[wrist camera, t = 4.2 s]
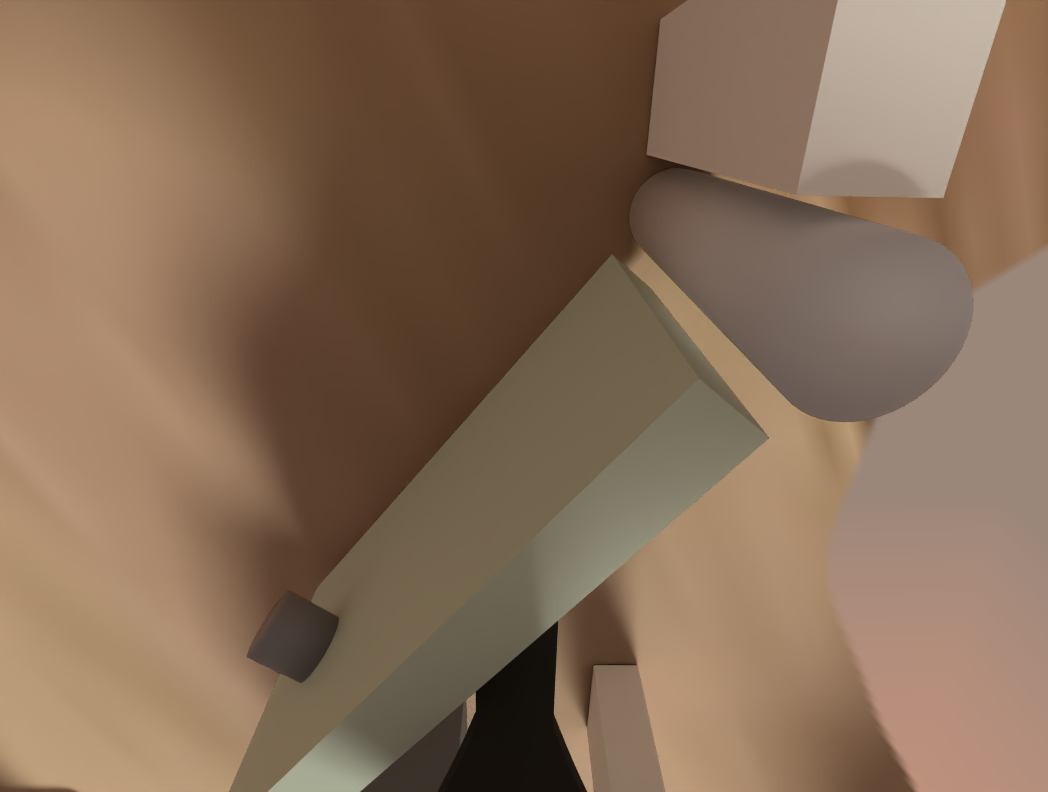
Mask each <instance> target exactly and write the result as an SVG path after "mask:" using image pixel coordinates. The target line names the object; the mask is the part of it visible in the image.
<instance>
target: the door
mask: <svg viewBox="0 0 1048 792" xmlns="http://www.w3.org/2000/svg"><path fill="white" fill-rule="evenodd" d="M767 439H769V437H768V436H767V435H766V433H765V432H764V431H763V429H762V428H761V427H760V426H759V424H758V423H757V422H756V421H755V419H754V418H753V417H752V416H751V414H750V413H749V412H748V410H747V409H746V408H745V407H744V405H743V404H742V403H741V402H740V400H739V399H738V398H737V397H736V395H735V394H734V393H733V391H732V390H731V389H730V388H729V386H728V385H727V384H726V383H725V381H724V380H723V379H722V378H721V376H720V375H719V374H718V372H717V371H716V370H715V369H714V367H713V366H712V365H711V364H710V362H709V361H708V360H707V359H706V357H705V356H704V355H703V353H702V352H701V351H700V350H699V348H698V347H697V346H696V345H695V343H694V342H693V341H692V340H691V338H690V337H689V336H688V335H687V333H686V332H685V331H684V329H683V328H682V327H681V326H680V324H679V323H678V322H677V321H676V319H675V318H674V317H673V316H672V314H671V313H670V312H669V310H668V309H667V308H666V307H665V305H664V304H663V303H662V302H661V300H660V299H659V298H658V297H657V295H656V294H655V293H654V291H653V290H652V289H651V288H650V287H649V286H648V285H646V284H645V283H644V282H643V281H642V280H641V279H640V278H639V277H637V276H636V275H635V274H634V273H633V272H632V271H631V270H629V269H628V268H627V267H626V266H625V265H624V264H623V263H622V262H620V261H619V260H618V259H617V258H616V257H615V256H614V255H611V256H610V257H609V258H608V259H607V260H606V261H605V263H604V264H603V265H602V266H601V267H600V268H599V269H598V271H597V272H596V273H595V274H594V275H593V276H592V277H591V278H590V280H589V281H588V282H587V283H586V284H585V285H584V286H583V287H582V289H581V290H580V291H579V292H578V293H577V294H576V295H575V297H574V298H573V299H572V300H571V301H570V302H569V303H568V304H567V306H566V307H565V308H564V309H563V310H562V311H561V312H560V313H559V315H558V316H557V317H556V318H555V319H554V320H553V321H552V323H551V324H550V325H549V326H548V327H547V328H546V329H545V330H544V332H543V333H542V334H541V335H540V336H539V337H538V338H537V339H536V341H535V342H534V343H533V344H532V345H531V346H530V347H529V349H528V350H527V351H526V352H525V353H524V354H523V355H522V356H521V358H520V359H519V360H518V361H517V362H516V363H515V364H514V366H513V367H512V368H511V369H510V370H509V371H508V372H507V373H506V375H505V376H504V377H503V378H502V379H501V380H500V381H499V382H498V384H497V385H496V386H495V387H494V388H493V389H492V390H491V392H490V393H489V394H488V395H487V396H486V397H485V398H484V399H483V401H482V402H481V403H480V404H479V405H478V406H477V407H476V408H475V410H474V411H473V412H472V413H471V414H470V415H469V416H468V418H467V419H466V420H465V421H464V422H463V423H462V424H461V425H460V427H459V428H458V429H457V430H456V431H455V432H454V433H453V434H452V436H451V437H450V438H449V439H448V440H447V441H446V442H445V444H444V445H443V446H442V447H441V448H440V449H439V450H438V451H437V453H436V454H435V455H434V456H433V457H432V458H431V459H430V461H429V462H428V463H427V464H426V465H425V466H424V467H423V468H422V470H421V471H420V472H419V473H418V474H417V475H416V476H415V477H414V479H413V480H412V481H411V482H410V483H409V484H408V485H407V487H406V488H405V489H404V490H403V491H402V492H401V493H400V494H399V496H398V497H397V498H396V499H395V500H394V501H393V502H392V503H391V505H390V506H389V507H388V508H387V509H386V510H385V511H384V513H383V514H382V515H381V516H380V517H379V518H378V519H377V520H376V522H375V523H374V524H373V525H372V526H371V527H370V528H369V529H368V531H367V532H366V533H365V534H364V535H363V536H362V537H361V539H360V540H359V541H358V542H357V543H356V544H355V545H354V546H353V548H352V549H351V550H350V551H349V552H348V553H347V554H346V556H345V557H344V558H343V559H342V560H341V561H340V562H339V563H338V565H337V566H336V567H335V568H334V569H333V570H332V571H331V572H330V574H329V575H328V576H327V577H326V578H325V579H324V580H323V582H322V583H321V584H320V585H319V586H318V587H317V589H316V591H315V593H314V596H313V598H312V600H311V602H310V601H308V600H306V599H304V598H303V597H301V596H299V595H297V594H295V593H293V592H291V591H288V592H286V593H285V594H284V595H283V596H282V598H281V599H280V600H279V601H278V603H277V604H276V605H275V607H274V608H273V609H272V611H271V612H270V614H269V615H268V617H267V618H266V620H265V621H264V623H263V624H262V626H261V628H260V629H259V631H258V633H257V635H256V636H255V638H254V640H253V642H252V644H251V646H250V648H249V651H248V654H247V657H248V658H250V659H252V660H254V661H256V662H258V663H260V664H262V665H264V666H266V667H268V668H270V669H272V670H274V671H276V672H279V673H280V675H279V677H278V679H277V682H276V684H275V686H274V689H273V691H272V693H271V696H270V698H269V700H268V702H267V705H266V707H265V709H264V712H263V714H262V716H261V719H260V721H259V723H258V726H257V728H256V730H255V733H254V735H253V737H252V740H251V742H250V744H249V747H248V749H247V751H246V754H245V756H244V758H243V761H242V763H241V765H240V767H239V770H238V772H237V774H236V777H235V779H234V781H233V784H232V786H231V788H230V791H229V792H360V791H361V790H363V789H364V788H365V787H366V786H367V785H368V784H369V783H371V782H372V781H373V780H374V779H375V778H376V777H378V776H379V775H380V774H381V773H382V772H383V771H385V770H386V769H387V768H388V767H389V766H390V765H391V764H393V763H394V762H395V761H396V760H397V759H398V758H400V757H401V756H402V755H403V754H404V753H405V752H406V751H408V750H409V749H410V748H411V747H412V746H413V745H415V744H416V743H417V742H418V741H419V740H420V739H422V738H423V737H424V736H425V735H426V734H427V733H428V732H430V731H431V730H432V729H433V728H434V727H435V726H437V725H438V724H439V723H440V722H441V721H442V720H444V719H445V718H446V717H447V716H448V715H449V714H450V713H452V712H453V711H454V710H455V709H456V708H457V707H459V706H460V705H461V704H462V703H463V702H464V701H465V700H467V699H468V698H469V697H470V696H471V695H472V694H474V693H475V692H476V691H477V690H478V689H479V688H481V687H482V686H483V685H484V684H485V683H486V682H487V681H489V680H490V679H491V678H492V677H493V676H494V675H496V674H497V673H498V672H499V671H500V670H501V669H502V668H504V667H505V666H506V665H507V664H508V663H509V662H511V661H512V660H513V659H514V658H515V657H516V656H518V655H519V654H520V653H521V652H522V651H523V650H524V649H526V648H527V647H528V646H529V645H530V644H531V643H533V642H534V641H535V640H536V639H537V638H538V637H540V636H541V635H542V634H543V633H544V632H545V631H546V630H548V629H549V628H550V627H551V626H552V625H553V624H555V623H556V622H557V621H558V620H559V619H560V618H561V617H563V616H564V615H565V614H566V613H567V612H568V611H570V610H571V609H572V608H573V607H574V606H575V605H577V604H578V603H579V602H580V601H581V600H582V599H583V598H585V597H586V596H587V595H588V594H589V593H590V592H592V591H593V590H594V589H595V588H596V587H597V586H598V585H600V584H601V583H602V582H603V581H604V580H605V579H607V578H608V577H609V576H610V575H611V574H612V573H614V572H615V571H616V570H617V569H618V568H619V567H620V566H622V565H623V564H624V563H625V562H626V561H627V560H629V559H630V558H631V557H632V556H633V555H634V554H636V553H637V552H638V551H639V550H640V549H641V548H642V547H644V546H645V545H646V544H647V543H648V542H649V541H651V540H652V539H653V538H654V537H655V536H656V535H657V534H659V533H660V532H661V531H662V530H663V529H664V528H666V527H667V526H668V525H669V524H670V523H671V522H673V521H674V520H675V519H676V518H677V517H678V516H679V515H681V514H682V513H683V512H684V511H685V510H686V509H688V508H689V507H690V506H691V505H692V504H693V503H695V502H696V501H697V500H698V499H699V498H700V497H701V496H703V495H704V494H705V493H706V492H707V491H708V490H710V489H711V488H712V487H713V486H714V485H715V484H716V483H718V482H719V481H720V480H721V479H722V478H723V477H725V476H726V475H727V474H728V473H729V472H730V471H732V470H733V469H734V468H735V467H736V466H737V465H738V464H740V463H741V462H742V461H743V460H744V459H745V458H747V457H748V456H749V455H750V454H751V453H752V452H753V451H755V450H756V449H757V448H758V447H759V446H760V445H762V444H763V443H764V442H765V441H766V440H767Z"/></svg>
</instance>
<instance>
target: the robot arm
mask: <svg viewBox="0 0 1048 792" xmlns="http://www.w3.org/2000/svg"><path fill="white" fill-rule="evenodd" d="M557 633H558V621H557V622H556V623H555V624H553V625H552V626H551V627H550V628H549V629H548V630H546V631H545V632H544V633H543V634H542V635H541V636H540V637H538V638H537V639H536V640H535V641H534V642H533V643H531V644H530V645H529V646H528V647H527V648H526V649H524V650H523V651H522V652H521V653H520V654H519V655H518V656H516V657H515V658H514V659H513V660H512V661H511V662H509V663H508V664H507V665H506V666H505V667H504V668H502V669H501V670H500V671H499V672H498V673H497V674H496V675H494V676H493V677H492V678H491V679H490V680H489V681H487V682H486V683H485V684H484V685H483V686H482V687H481V688H479V689H478V690H477V691H476V712H475V714H474V717H473V719H472V721H471V724H470V726H469V728H468V730H467V733H466V735H465V737H464V739H463V741H462V744H461V746H460V748H459V750H458V752H457V754H456V756H455V758H454V760H453V762H452V764H451V766H450V768H449V770H448V772H447V774H446V776H445V778H444V780H443V782H442V784H441V786H440V788H439V790H438V792H587V791H586V789H585V786H584V784H583V782H582V780H581V778H580V776H579V773H578V771H577V769H576V767H575V764H574V762H573V760H572V758H571V755H570V753H569V751H568V748H567V746H566V744H565V741H564V739H563V736H562V734H561V731H560V729H559V726H558V724H557V721H556V719H555V716H554V694H555V674H556V654H557Z"/></svg>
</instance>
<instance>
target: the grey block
mask: <svg viewBox="0 0 1048 792" xmlns="http://www.w3.org/2000/svg"><path fill="white" fill-rule="evenodd" d="M466 733H467V708H466V700H465V701H464V702H463V703H462V704H461V705H460V706H459V707H457V708H456V709H455V710H454V711H453V712H452V713H450V714H449V715H448V716H447V717H446V718H445V719H444V720H442V721H441V722H440V723H439V724H438V725H437V726H435V727H434V728H433V729H432V730H431V731H430V732H428V733H427V734H426V735H425V736H424V737H423V738H422V739H420V740H419V741H418V742H417V743H416V744H415V745H413V746H412V747H411V748H410V749H409V750H408V751H406V752H405V753H404V754H403V755H402V756H401V757H400V758H398V759H397V760H396V761H395V762H394V763H393V764H391V765H390V766H389V767H388V768H387V769H386V770H385V771H383V772H382V773H381V774H380V775H379V776H378V777H376V778H375V779H374V780H373V781H372V782H371V783H369V784H368V785H367V786H366V787H365V788H364V789H363V790H361V791H360V792H438V790H439V788H440V786H441V784H442V782H443V780H444V778H445V776H446V774H447V772H448V770H449V768H450V766H451V764H452V762H453V760H454V758H455V756H456V754H457V752H458V750H459V748H460V746H461V744H462V741H463V739H464V737H465V735H466Z"/></svg>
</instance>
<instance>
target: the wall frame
mask: <svg viewBox="0 0 1048 792" xmlns="http://www.w3.org/2000/svg"><path fill="white" fill-rule="evenodd" d="M1005 3H1006V0H687V1H686V2H684V3H683V4H681V5H680V6H679V7H677V8H676V9H674V10H673V11H672V12H670V13H669V14H667V15H666V16H665V17H663V18H662V19H660V29H659V39H658V48H657V58H656V68H655V77H654V87H653V97H652V106H651V116H650V126H649V135H648V145H647V155H649V156H653V157H656V158H660V159H664V160H668V161H671V162H675V163H679V164H682V165H686V166H690V167H694V168H697V169H701V170H705V171H708V172H712V173H716V174H720V175H723V176H727V177H731V178H734V179H738V180H742V181H746V182H749V183H753V184H757V185H760V186H764V187H768V188H772V189H775V190H779V191H783V192H786V193H790V194H794V195H814V196H865V197H916V198H943V197H944V193H945V190H946V187H947V184H948V181H949V178H950V175H951V172H952V168H953V165H954V162H955V159H956V156H957V153H958V150H959V147H960V143H961V140H962V137H963V134H964V131H965V128H966V125H967V122H968V118H969V115H970V112H971V109H972V106H973V103H974V100H975V97H976V93H977V90H978V87H979V84H980V81H981V78H982V75H983V72H984V68H985V65H986V62H987V59H988V56H989V53H990V50H991V47H992V43H993V40H994V37H995V34H996V31H997V28H998V25H999V22H1000V18H1001V15H1002V12H1003V9H1004V6H1005ZM629 223H630V229H631V232H632V235H633V237H634V239H635V241H636V242H637V244H638V245H639V246H640V247H641V248H642V249H643V250H644V251H645V252H646V254H647V255H648V256H649V257H650V258H651V259H652V260H653V261H654V262H655V263H656V264H657V265H658V266H659V267H660V268H661V269H662V270H663V271H664V272H665V273H666V274H667V275H668V276H669V277H670V278H671V279H672V281H673V282H674V283H675V284H676V285H677V286H678V287H679V288H680V289H681V290H682V291H683V292H684V293H685V294H686V295H687V296H688V297H689V298H690V299H691V300H692V301H693V302H694V303H695V304H696V305H697V307H698V308H699V309H700V310H701V311H702V312H703V313H704V314H705V315H706V316H707V317H708V318H709V319H710V320H711V321H712V322H713V323H714V324H715V325H716V326H717V327H718V328H719V329H720V330H721V331H722V332H723V334H724V335H725V336H726V337H727V338H728V339H729V340H730V341H731V342H732V343H733V344H734V345H735V346H736V347H737V348H738V349H739V350H740V351H741V352H742V353H743V354H744V355H745V356H746V357H747V358H748V359H749V361H750V362H751V363H752V364H753V365H754V366H755V367H756V368H757V369H758V370H759V371H760V372H761V373H762V374H763V375H764V376H765V377H766V378H767V379H768V380H769V381H770V382H771V383H772V384H773V385H774V387H775V388H776V389H777V390H778V391H779V392H780V393H781V394H782V395H783V396H784V397H785V398H786V399H787V400H788V401H789V402H790V403H791V404H792V405H794V406H795V407H796V408H798V409H799V410H801V411H802V412H804V413H806V414H808V415H810V416H813V417H816V418H819V419H823V420H828V421H836V422H856V421H862V420H868V419H872V418H876V417H880V416H882V415H885V414H888V413H890V412H893V411H895V410H897V409H899V408H901V407H903V406H905V405H907V404H908V403H910V402H912V401H913V400H915V399H917V398H918V397H919V396H921V395H922V394H923V393H925V392H926V391H927V390H928V389H929V388H930V387H932V386H933V385H934V384H935V383H936V382H937V381H938V380H939V379H940V378H941V377H942V376H943V375H944V373H945V372H946V371H947V370H948V369H949V367H950V366H951V365H952V363H953V362H954V361H955V359H956V357H957V356H958V354H959V352H960V350H961V349H962V347H963V344H964V342H965V340H966V338H967V335H968V332H969V329H970V325H971V321H972V314H973V292H972V286H971V283H970V280H969V276H968V274H967V272H966V270H965V268H964V266H963V265H962V263H961V262H960V261H959V259H958V258H957V257H956V256H955V255H954V254H953V253H952V252H951V251H950V250H949V249H948V248H946V247H944V246H943V245H941V244H940V243H938V242H936V241H934V240H931V239H929V238H927V237H924V236H920V235H917V234H913V233H910V232H906V231H903V230H899V229H896V228H892V227H889V226H885V225H882V224H878V223H875V222H871V221H868V220H864V219H861V218H857V217H854V216H850V215H847V214H843V213H840V212H836V211H833V210H829V209H826V208H822V207H819V206H815V205H812V204H808V203H805V202H801V201H798V200H794V199H791V198H787V197H784V196H780V195H777V194H774V193H770V192H767V191H763V190H760V189H756V188H753V187H749V186H746V185H742V184H739V183H735V182H732V181H728V180H725V179H721V178H718V177H714V176H711V175H707V174H704V173H700V172H697V171H693V170H690V169H686V168H671V169H666V170H663V171H661V172H659V173H656V174H655V175H653V176H652V177H650V178H649V179H648V180H647V181H645V182H644V184H643V185H642V186H641V187H640V188H639V190H638V191H637V193H636V195H635V196H634V199H633V201H632V204H631V208H630V213H629ZM587 734H588V743H589V752H590V761H591V769H592V778H593V787H594V792H665V788H664V783H663V779H662V774H661V770H660V765H659V760H658V756H657V751H656V747H655V742H654V738H653V733H652V728H651V724H650V719H649V715H648V710H647V706H646V701H645V697H644V692H643V687H642V683H641V678H640V674H639V669H638V665H594V667H593V677H592V686H591V696H590V706H589V715H588V725H587Z"/></svg>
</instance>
